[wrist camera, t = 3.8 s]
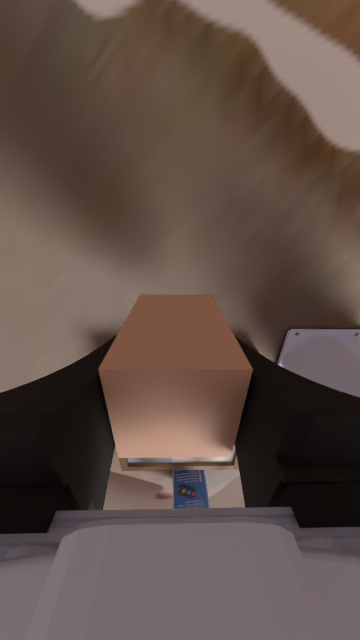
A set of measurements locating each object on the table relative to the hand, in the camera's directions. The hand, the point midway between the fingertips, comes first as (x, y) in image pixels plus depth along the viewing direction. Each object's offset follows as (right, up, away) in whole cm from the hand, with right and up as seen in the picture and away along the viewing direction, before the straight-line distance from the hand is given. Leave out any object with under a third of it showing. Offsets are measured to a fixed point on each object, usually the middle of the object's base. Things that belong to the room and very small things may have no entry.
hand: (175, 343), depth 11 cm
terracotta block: (0, +1, +2) cm, 2 cm away
